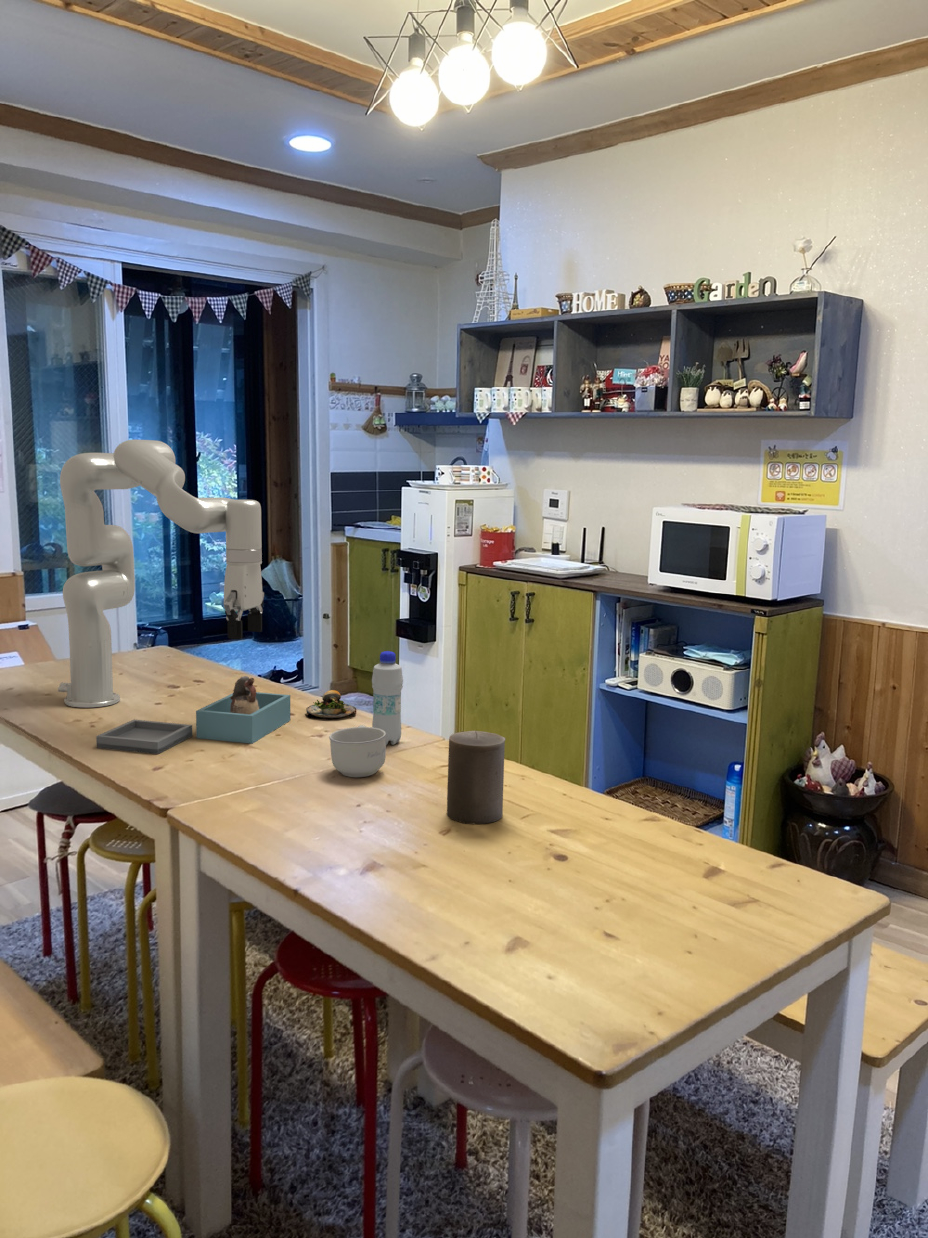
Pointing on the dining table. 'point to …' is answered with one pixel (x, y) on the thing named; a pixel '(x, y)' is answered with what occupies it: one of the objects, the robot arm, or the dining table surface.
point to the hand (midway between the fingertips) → (245, 634)
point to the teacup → (358, 750)
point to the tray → (144, 736)
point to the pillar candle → (475, 777)
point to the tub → (242, 719)
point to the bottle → (387, 696)
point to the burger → (331, 706)
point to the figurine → (244, 697)
